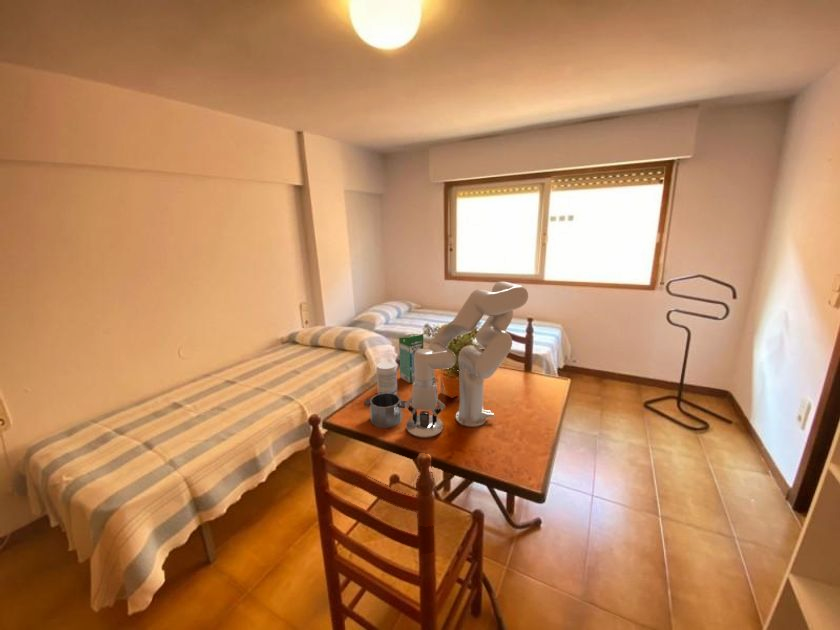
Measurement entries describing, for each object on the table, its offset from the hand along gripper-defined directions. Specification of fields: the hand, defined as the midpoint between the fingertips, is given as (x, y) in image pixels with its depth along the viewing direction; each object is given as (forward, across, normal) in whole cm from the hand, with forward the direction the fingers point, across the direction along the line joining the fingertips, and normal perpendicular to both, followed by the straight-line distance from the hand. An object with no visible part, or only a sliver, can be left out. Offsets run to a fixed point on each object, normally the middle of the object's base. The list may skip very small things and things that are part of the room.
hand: (424, 422), depth 133 cm
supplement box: (+3, -8, -30) cm, 31 cm away
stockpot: (+3, +17, -5) cm, 18 cm away
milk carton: (+3, +13, -46) cm, 48 cm away
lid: (+3, 0, 0) cm, 3 cm away
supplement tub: (+3, +22, -28) cm, 36 cm away
